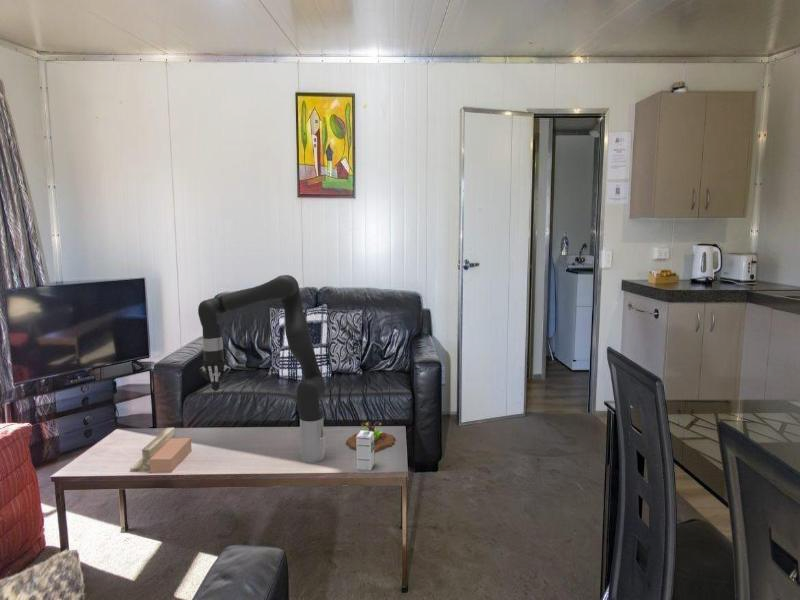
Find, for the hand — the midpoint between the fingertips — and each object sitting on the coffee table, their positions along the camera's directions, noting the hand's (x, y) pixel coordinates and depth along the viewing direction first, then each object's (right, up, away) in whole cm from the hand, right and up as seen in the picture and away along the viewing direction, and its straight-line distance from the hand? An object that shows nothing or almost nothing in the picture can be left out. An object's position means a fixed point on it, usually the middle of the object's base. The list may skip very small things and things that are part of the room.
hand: (216, 390), depth 207 cm
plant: (+62, -27, +14) cm, 69 cm away
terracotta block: (-17, -28, -3) cm, 33 cm away
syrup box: (+62, -29, -9) cm, 69 cm away
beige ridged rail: (-25, -28, -1) cm, 37 cm away
